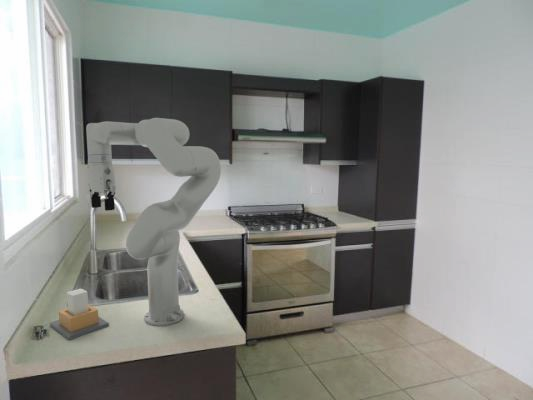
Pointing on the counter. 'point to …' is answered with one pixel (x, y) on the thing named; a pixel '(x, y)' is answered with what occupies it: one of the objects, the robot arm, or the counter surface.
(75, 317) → the socket block
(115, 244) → the counter surface
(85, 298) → the white plug
